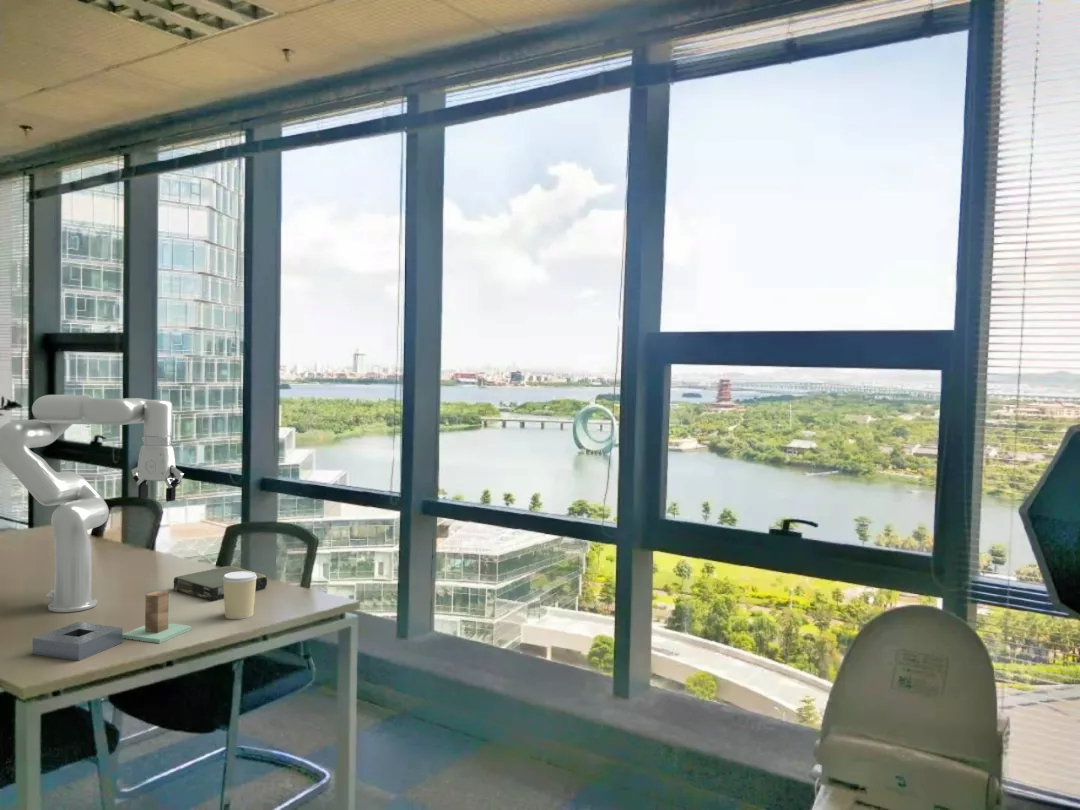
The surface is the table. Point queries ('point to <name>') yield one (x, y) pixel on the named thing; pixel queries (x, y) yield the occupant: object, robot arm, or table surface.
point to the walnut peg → (156, 611)
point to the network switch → (211, 582)
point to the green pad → (156, 637)
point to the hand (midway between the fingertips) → (156, 499)
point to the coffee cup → (239, 594)
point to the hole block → (77, 641)
